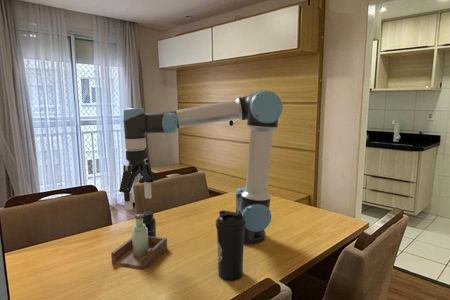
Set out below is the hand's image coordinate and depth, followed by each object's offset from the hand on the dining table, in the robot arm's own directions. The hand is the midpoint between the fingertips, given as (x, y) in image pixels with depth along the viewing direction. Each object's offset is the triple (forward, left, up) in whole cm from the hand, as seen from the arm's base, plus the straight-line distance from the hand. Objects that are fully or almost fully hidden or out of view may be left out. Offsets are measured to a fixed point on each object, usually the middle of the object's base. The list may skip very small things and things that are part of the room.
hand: (139, 203), depth 116 cm
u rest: (0, 0, -22) cm, 22 cm away
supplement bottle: (+5, -15, -22) cm, 27 cm away
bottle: (0, 0, -21) cm, 21 cm away
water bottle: (-37, +3, -22) cm, 43 cm away
